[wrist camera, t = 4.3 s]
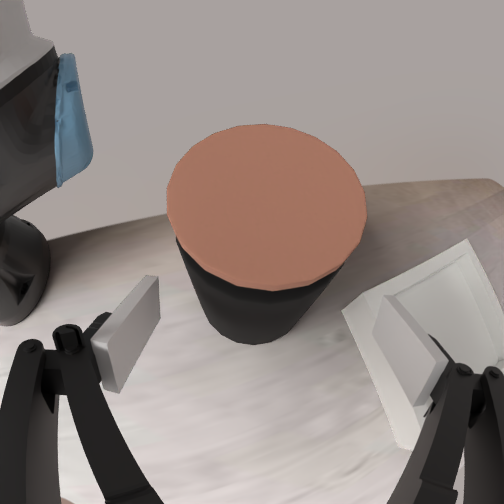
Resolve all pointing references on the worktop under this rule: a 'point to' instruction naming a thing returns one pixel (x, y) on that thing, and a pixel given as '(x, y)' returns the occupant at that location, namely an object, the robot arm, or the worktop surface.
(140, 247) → the worktop surface
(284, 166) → the coffee jar
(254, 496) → the worktop surface
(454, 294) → the white square tray
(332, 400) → the worktop surface
